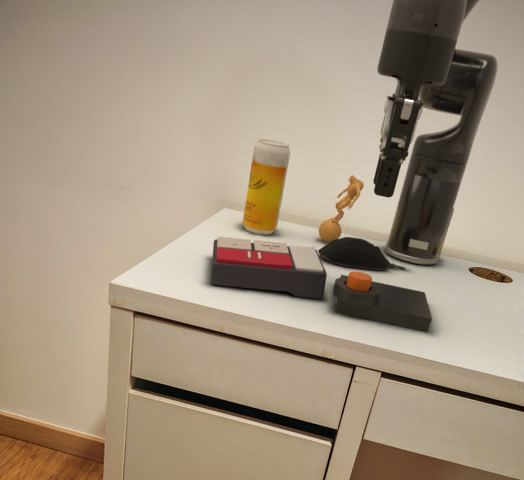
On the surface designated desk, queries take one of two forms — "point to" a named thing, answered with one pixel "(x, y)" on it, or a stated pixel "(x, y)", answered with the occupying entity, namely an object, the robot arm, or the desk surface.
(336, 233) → the figurine
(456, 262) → the desk surface
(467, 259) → the desk surface
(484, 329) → the desk surface
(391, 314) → the black orange button box
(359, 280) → the button
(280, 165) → the beer can
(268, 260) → the red grey electronic device
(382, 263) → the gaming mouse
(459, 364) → the desk surface
